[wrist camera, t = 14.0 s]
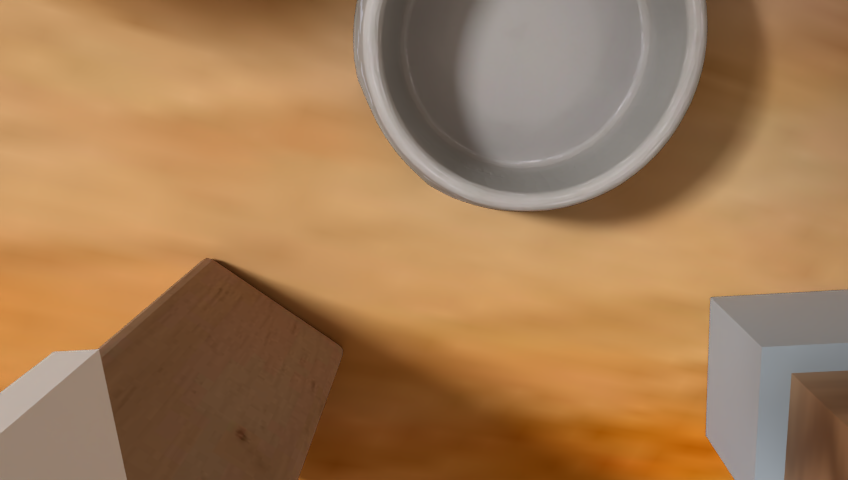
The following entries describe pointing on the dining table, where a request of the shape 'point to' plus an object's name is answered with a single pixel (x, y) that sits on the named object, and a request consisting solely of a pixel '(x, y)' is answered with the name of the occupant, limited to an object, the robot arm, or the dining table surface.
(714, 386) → the slate block
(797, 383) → the walnut block
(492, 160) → the dog bowl
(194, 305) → the wooden block
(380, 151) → the dining table surface
